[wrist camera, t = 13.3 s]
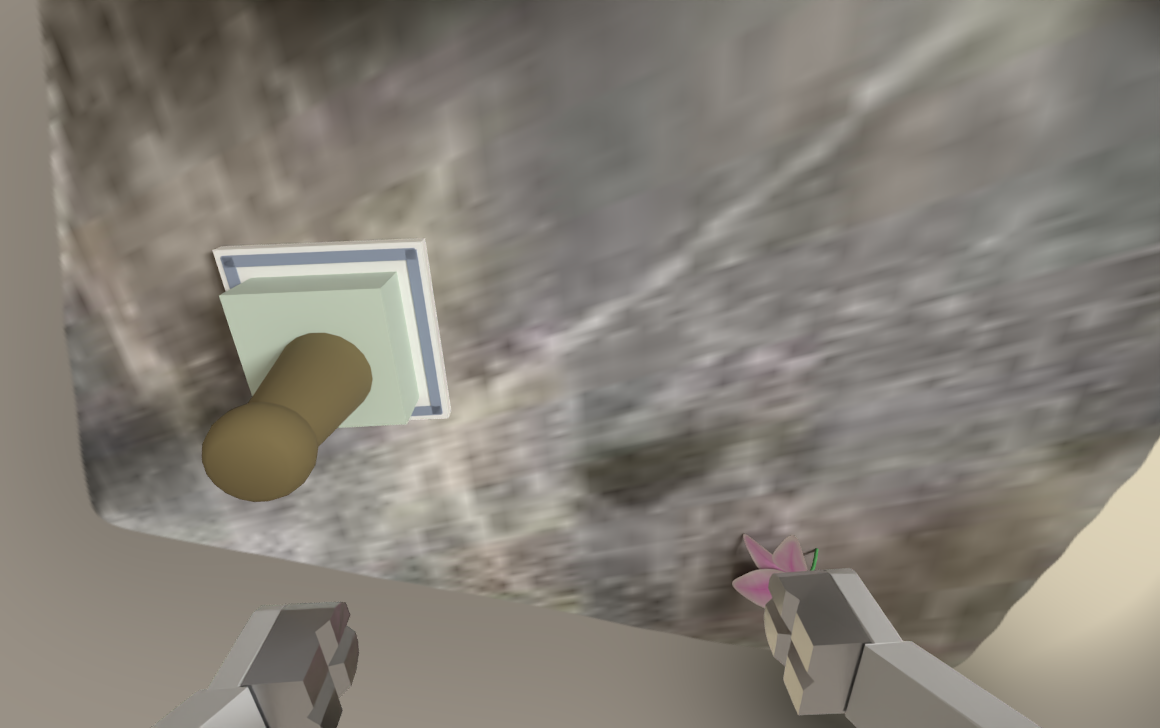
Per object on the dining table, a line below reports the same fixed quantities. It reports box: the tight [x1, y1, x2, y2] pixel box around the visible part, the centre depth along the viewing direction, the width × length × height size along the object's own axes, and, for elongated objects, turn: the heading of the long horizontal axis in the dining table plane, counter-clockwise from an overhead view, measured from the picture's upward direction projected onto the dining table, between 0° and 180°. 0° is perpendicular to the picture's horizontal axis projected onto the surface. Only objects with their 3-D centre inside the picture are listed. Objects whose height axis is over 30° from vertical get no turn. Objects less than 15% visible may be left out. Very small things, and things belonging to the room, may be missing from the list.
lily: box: [732, 533, 818, 608], centre depth 49 cm, size 12×12×10 cm
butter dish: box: [213, 238, 451, 428], centre depth 38 cm, size 14×14×5 cm
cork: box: [202, 333, 373, 502], centre depth 31 cm, size 6×6×11 cm
